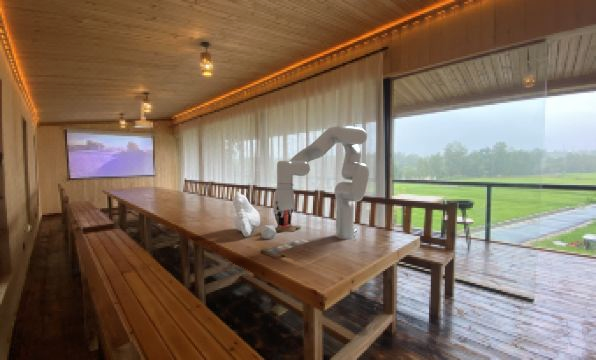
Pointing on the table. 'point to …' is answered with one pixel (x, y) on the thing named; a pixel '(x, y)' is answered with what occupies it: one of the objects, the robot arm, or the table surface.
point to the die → (268, 232)
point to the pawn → (285, 219)
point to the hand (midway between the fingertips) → (284, 224)
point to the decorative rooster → (245, 215)
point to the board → (274, 251)
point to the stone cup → (290, 229)
